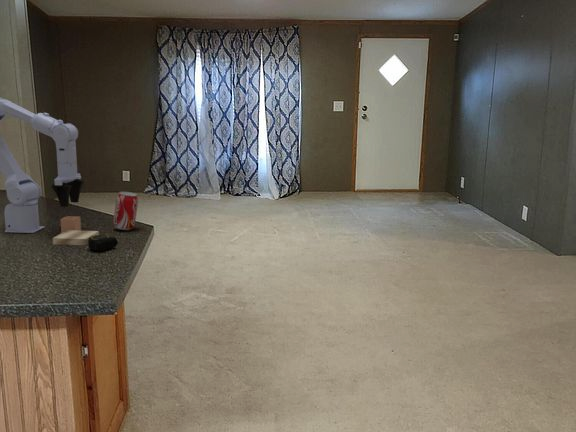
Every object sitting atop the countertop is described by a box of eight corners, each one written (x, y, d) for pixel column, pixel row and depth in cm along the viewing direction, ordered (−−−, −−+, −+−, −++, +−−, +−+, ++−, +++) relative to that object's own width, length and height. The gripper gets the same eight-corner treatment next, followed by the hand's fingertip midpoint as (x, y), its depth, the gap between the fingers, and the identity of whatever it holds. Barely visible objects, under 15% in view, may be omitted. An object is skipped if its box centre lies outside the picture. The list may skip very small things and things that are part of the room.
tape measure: (98, 254, 144) (97, 241, 143) (83, 250, 148) (82, 237, 147) (118, 249, 150) (117, 236, 149) (103, 245, 153) (102, 233, 152)
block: (61, 234, 164) (60, 219, 163) (67, 230, 169) (66, 216, 168) (75, 234, 164) (74, 219, 163) (81, 231, 169) (80, 216, 168)
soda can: (128, 232, 168) (133, 196, 166) (108, 227, 169) (113, 192, 167) (137, 228, 175) (142, 194, 173) (118, 224, 176) (123, 190, 174)
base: (53, 244, 152) (52, 238, 151) (67, 236, 161) (67, 230, 161) (86, 245, 152) (86, 239, 151) (99, 237, 161) (98, 231, 161)
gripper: (69, 165, 154) (72, 209, 157) (88, 160, 169) (90, 200, 171) (46, 164, 155) (49, 208, 157) (67, 159, 169) (70, 200, 172)
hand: (69, 204), depth 164 cm, fingers open, 7 cm apart
